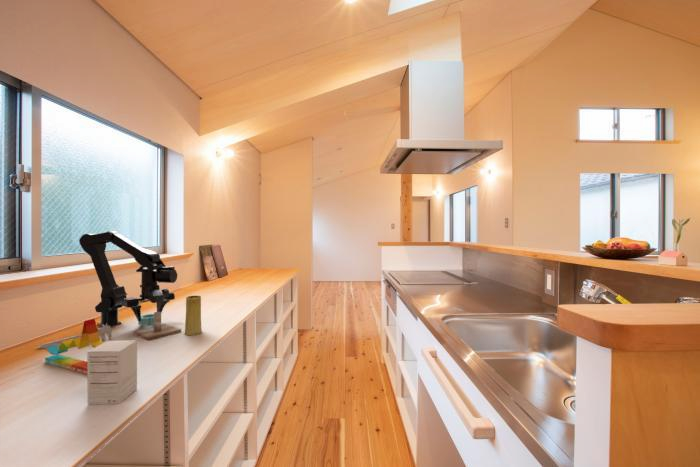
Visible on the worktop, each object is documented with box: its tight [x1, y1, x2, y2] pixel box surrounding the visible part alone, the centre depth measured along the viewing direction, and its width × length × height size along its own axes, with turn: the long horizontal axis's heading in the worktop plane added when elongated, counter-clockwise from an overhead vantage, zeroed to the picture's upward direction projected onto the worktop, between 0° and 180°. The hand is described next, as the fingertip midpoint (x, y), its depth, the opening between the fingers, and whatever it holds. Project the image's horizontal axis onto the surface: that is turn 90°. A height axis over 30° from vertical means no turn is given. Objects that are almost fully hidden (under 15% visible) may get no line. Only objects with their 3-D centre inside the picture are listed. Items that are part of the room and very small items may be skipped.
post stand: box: [132, 311, 182, 341], centre depth 124 cm, size 12×12×8 cm
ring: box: [137, 313, 154, 327], centre depth 134 cm, size 7×7×3 cm
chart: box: [44, 318, 105, 375], centre depth 92 cm, size 30×3×15 cm, turn 70°
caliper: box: [35, 323, 113, 350], centre depth 112 cm, size 20×1×6 cm, turn 120°
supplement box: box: [86, 339, 138, 406], centre depth 77 cm, size 7×7×13 cm
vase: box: [184, 294, 203, 336], centre depth 125 cm, size 6×6×14 cm
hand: (149, 319), depth 134 cm, fingers closed on ring, 7 cm apart
